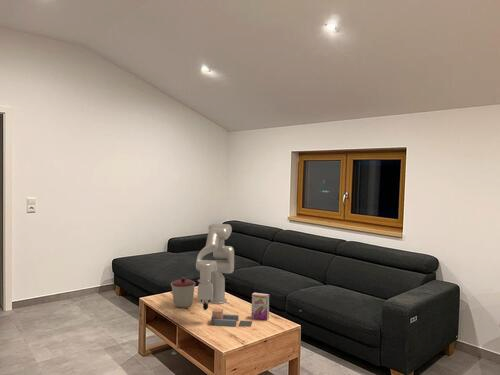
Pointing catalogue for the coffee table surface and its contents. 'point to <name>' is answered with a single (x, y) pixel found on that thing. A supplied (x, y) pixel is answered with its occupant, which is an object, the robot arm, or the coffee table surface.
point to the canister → (183, 292)
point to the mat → (245, 323)
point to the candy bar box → (260, 306)
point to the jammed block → (218, 313)
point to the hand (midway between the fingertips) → (205, 309)
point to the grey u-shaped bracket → (225, 320)
